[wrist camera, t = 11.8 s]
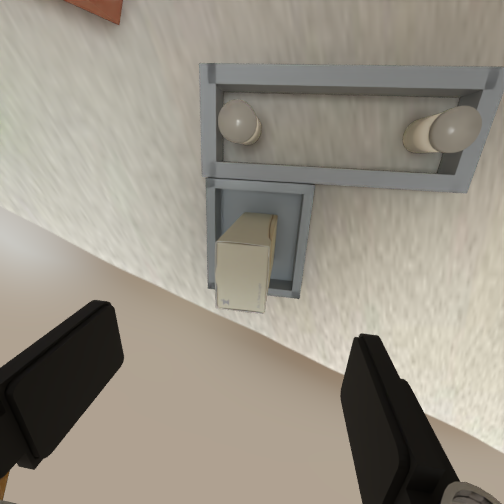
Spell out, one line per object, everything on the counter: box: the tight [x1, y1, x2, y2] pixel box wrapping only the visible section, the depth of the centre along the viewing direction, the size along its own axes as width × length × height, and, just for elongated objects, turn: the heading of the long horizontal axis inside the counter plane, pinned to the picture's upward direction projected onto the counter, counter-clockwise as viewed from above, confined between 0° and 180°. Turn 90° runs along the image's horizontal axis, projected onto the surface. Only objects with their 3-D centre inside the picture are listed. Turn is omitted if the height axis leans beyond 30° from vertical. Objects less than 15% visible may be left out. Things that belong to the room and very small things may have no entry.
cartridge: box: [403, 106, 482, 153], centre depth 22 cm, size 3×3×6 cm
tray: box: [206, 177, 315, 299], centre depth 30 cm, size 12×14×3 cm
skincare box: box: [215, 212, 278, 314], centre depth 25 cm, size 6×4×12 cm
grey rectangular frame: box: [199, 63, 504, 193], centre depth 25 cm, size 27×10×3 cm, turn 87°
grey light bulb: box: [218, 99, 261, 145], centre depth 24 cm, size 3×3×6 cm
